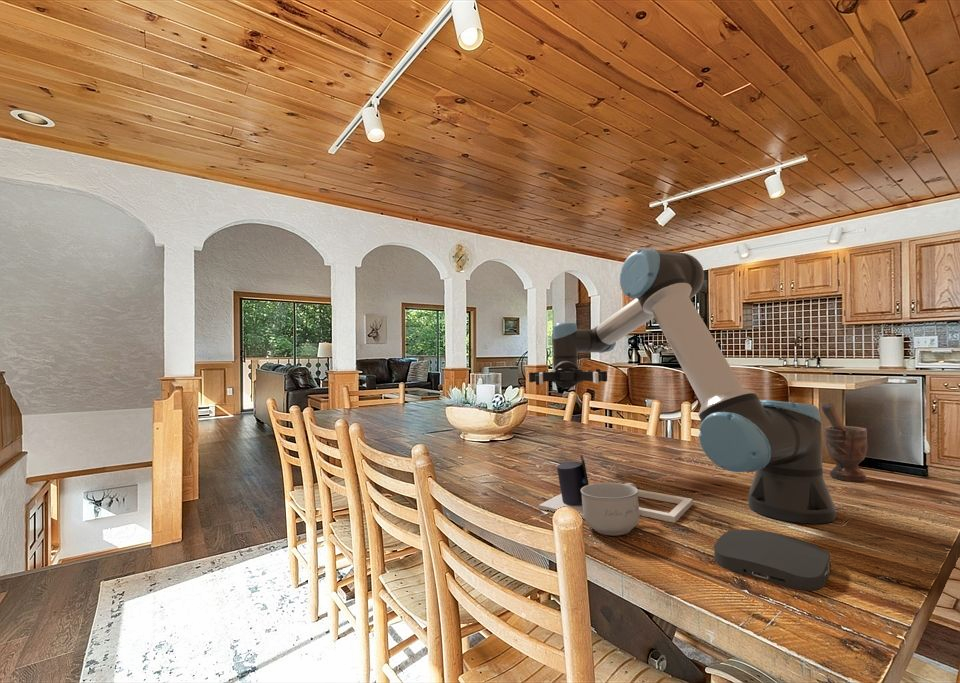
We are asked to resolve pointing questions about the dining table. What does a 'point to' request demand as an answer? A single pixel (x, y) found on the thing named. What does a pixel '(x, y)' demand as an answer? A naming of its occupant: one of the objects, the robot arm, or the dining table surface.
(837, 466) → the mortar and pestle
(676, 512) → the picture frame
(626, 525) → the teacup
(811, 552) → the media streaming box
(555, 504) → the mat
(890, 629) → the dining table surface
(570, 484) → the speaker
